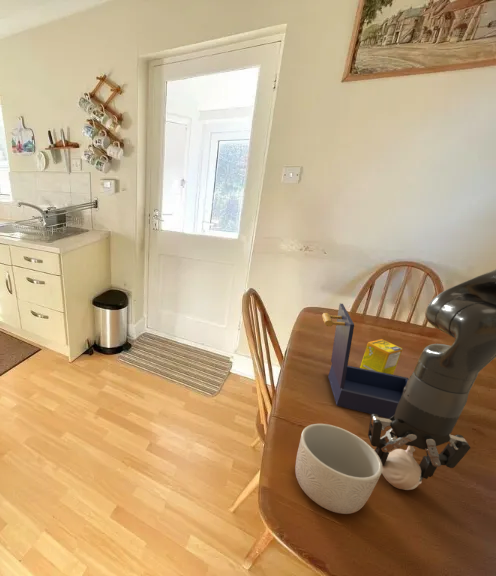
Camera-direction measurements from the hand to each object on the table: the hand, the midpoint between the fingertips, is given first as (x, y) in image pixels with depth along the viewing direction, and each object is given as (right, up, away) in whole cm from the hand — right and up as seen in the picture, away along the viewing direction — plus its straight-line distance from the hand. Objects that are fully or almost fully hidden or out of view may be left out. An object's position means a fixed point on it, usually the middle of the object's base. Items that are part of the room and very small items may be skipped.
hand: (400, 468), depth 62 cm
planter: (-15, -4, 0) cm, 16 cm away
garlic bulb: (0, -4, +1) cm, 4 cm away
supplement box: (+22, +9, +33) cm, 41 cm away
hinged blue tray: (+13, +5, +23) cm, 27 cm away
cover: (+5, +21, +22) cm, 30 cm away
